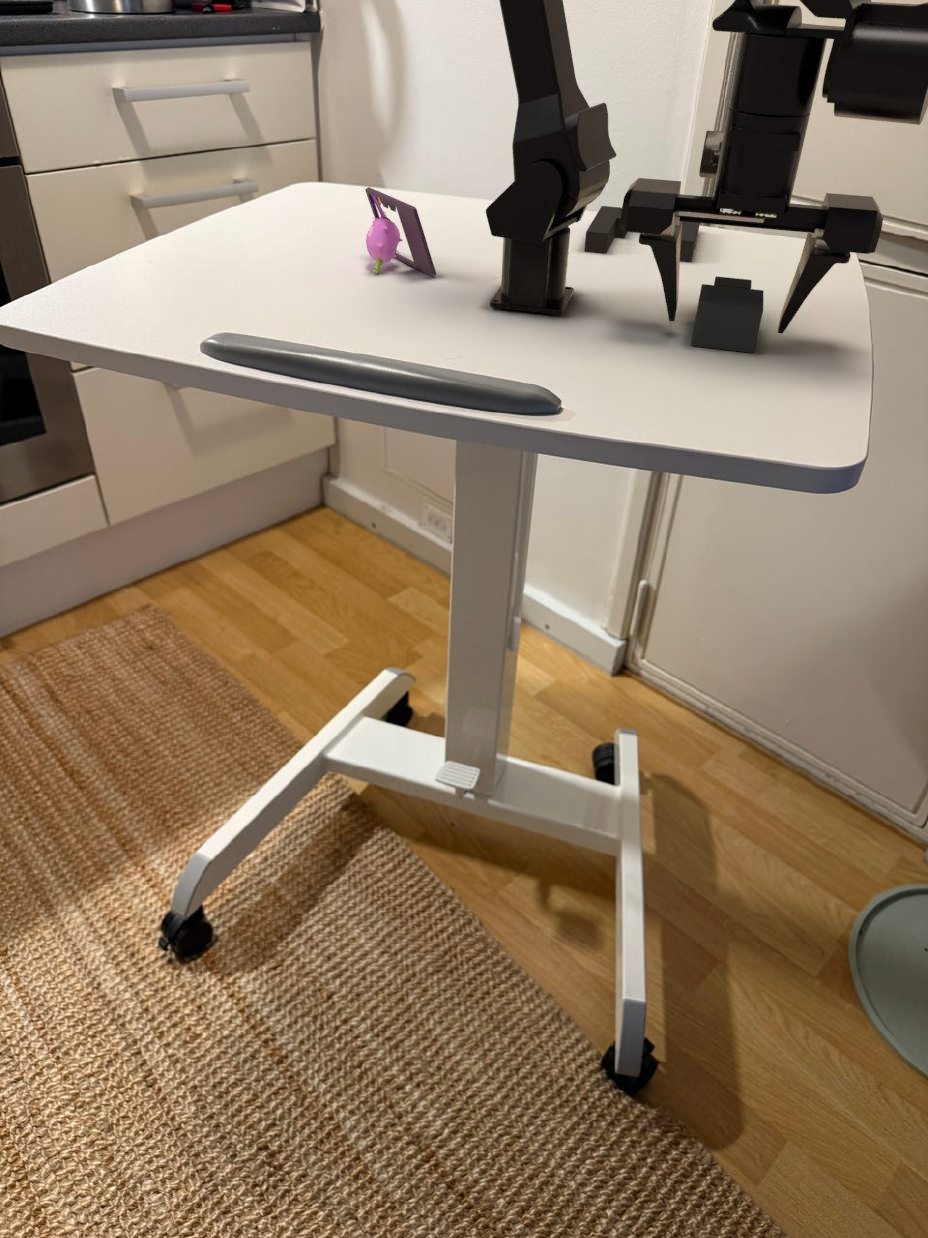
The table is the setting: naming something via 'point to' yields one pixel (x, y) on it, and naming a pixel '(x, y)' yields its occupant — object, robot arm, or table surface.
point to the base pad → (609, 226)
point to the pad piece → (728, 315)
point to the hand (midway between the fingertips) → (725, 325)
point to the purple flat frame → (396, 234)
